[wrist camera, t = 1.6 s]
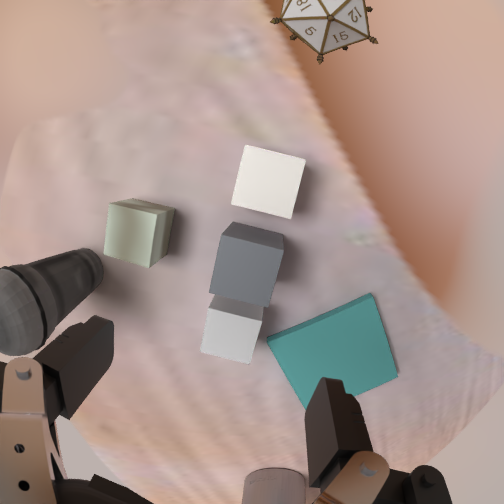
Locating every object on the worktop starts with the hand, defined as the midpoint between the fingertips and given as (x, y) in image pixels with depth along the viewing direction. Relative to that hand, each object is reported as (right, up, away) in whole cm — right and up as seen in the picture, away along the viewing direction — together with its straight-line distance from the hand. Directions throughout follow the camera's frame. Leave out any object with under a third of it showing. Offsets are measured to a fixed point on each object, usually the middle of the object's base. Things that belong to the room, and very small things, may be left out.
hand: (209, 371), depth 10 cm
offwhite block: (+3, +11, +15) cm, 19 cm away
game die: (+8, +25, +12) cm, 28 cm away
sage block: (-8, +7, +17) cm, 20 cm away
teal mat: (+10, -7, +19) cm, 23 cm away
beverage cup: (-16, +3, +19) cm, 25 cm away
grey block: (0, -2, +19) cm, 19 cm away
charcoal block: (+2, +4, +17) cm, 18 cm away
